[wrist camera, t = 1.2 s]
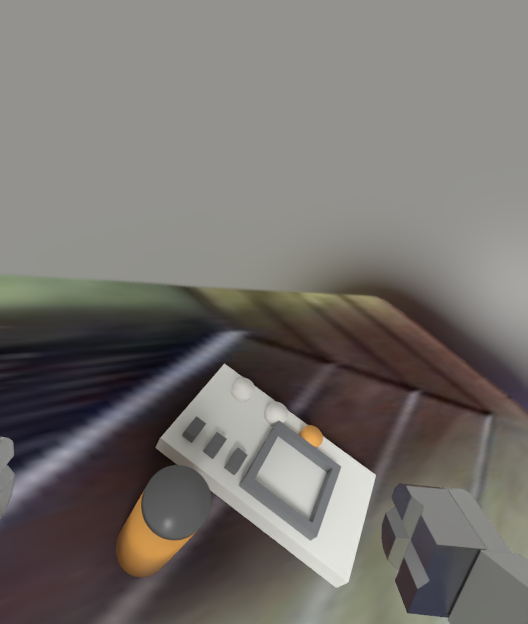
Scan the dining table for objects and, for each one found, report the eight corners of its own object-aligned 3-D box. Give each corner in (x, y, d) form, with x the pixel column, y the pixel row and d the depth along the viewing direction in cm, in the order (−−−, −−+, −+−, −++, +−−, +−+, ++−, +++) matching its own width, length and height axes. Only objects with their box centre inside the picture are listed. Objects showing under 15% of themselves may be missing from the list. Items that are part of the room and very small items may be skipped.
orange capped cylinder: (102, 553, 31) (128, 506, 25) (140, 504, 35) (172, 452, 28) (148, 590, 31) (186, 552, 24) (182, 537, 34) (223, 491, 28)
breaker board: (155, 447, 38) (163, 431, 36) (218, 373, 48) (228, 357, 46) (336, 587, 37) (355, 579, 35) (365, 482, 46) (382, 470, 44)
